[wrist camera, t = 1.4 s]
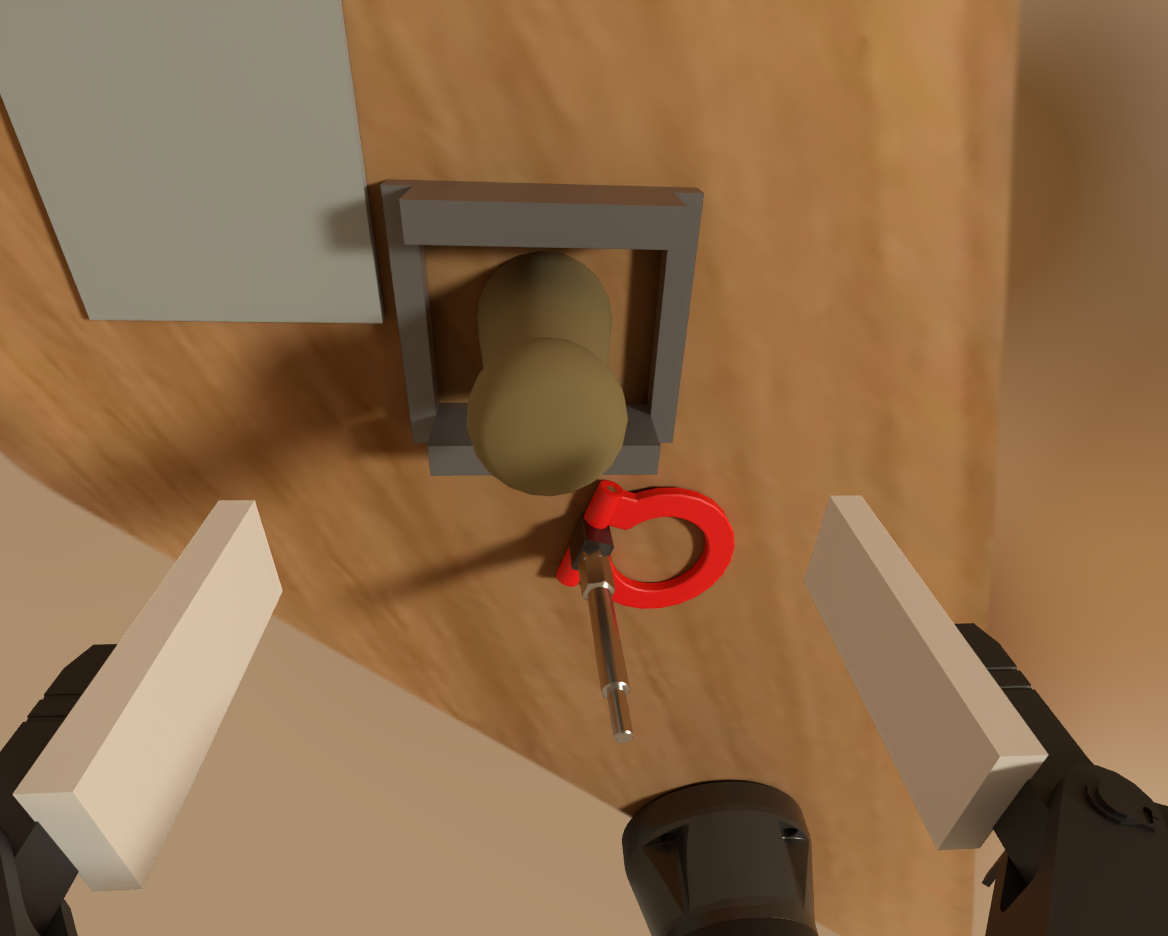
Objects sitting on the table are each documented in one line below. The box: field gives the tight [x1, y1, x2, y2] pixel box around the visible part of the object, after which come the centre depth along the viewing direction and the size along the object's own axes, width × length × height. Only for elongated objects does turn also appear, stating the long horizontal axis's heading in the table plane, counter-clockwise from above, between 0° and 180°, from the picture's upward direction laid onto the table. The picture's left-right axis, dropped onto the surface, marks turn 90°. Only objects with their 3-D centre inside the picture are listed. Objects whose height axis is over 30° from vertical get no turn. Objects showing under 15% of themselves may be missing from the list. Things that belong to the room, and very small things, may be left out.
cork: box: [467, 251, 628, 496], centre depth 24 cm, size 6×6×11 cm
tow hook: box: [556, 480, 734, 743], centre depth 31 cm, size 8×13×9 cm
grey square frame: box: [380, 180, 704, 476], centre depth 27 cm, size 11×12×4 cm
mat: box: [0, 0, 385, 323], centre depth 24 cm, size 12×12×1 cm
